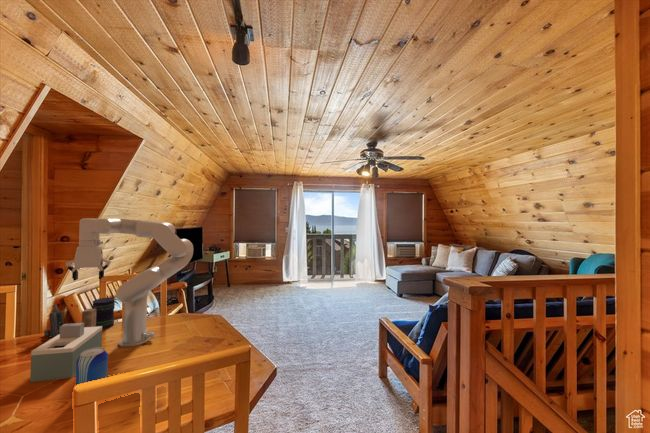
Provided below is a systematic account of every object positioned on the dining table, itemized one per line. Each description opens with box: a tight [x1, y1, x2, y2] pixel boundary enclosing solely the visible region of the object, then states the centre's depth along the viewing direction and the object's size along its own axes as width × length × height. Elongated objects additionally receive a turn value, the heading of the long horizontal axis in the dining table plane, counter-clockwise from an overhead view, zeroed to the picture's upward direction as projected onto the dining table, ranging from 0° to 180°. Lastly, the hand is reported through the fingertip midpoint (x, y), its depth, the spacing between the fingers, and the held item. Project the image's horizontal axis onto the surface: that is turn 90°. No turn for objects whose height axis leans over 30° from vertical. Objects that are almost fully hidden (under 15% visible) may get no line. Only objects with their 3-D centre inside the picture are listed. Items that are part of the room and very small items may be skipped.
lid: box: [30, 322, 103, 356], centre depth 116 cm, size 13×22×6 cm, turn 15°
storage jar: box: [91, 297, 116, 331], centre depth 156 cm, size 10×10×15 cm
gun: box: [43, 304, 65, 339], centre depth 141 cm, size 3×17×15 cm
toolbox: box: [29, 330, 103, 383], centre depth 116 cm, size 13×22×10 cm, turn 15°
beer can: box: [75, 347, 109, 386], centre depth 96 cm, size 8×8×16 cm
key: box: [81, 308, 96, 327], centre depth 137 cm, size 4×4×16 cm
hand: (88, 279), depth 134 cm, fingers open, 9 cm apart
